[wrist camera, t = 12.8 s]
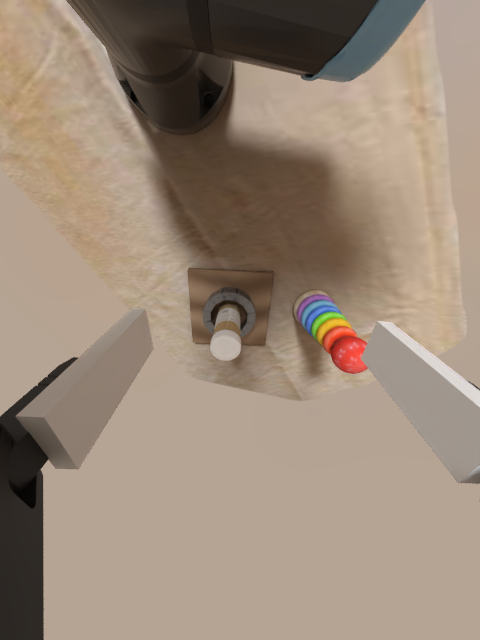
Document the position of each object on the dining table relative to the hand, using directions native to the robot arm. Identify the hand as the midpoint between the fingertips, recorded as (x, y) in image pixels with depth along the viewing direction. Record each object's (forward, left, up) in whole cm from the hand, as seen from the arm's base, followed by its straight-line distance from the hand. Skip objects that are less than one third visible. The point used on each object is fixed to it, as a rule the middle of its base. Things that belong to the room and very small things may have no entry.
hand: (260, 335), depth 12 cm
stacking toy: (+10, +14, -29) cm, 34 cm away
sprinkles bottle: (+11, -3, -27) cm, 30 cm away
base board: (+11, -3, -29) cm, 31 cm away
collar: (+11, -3, -27) cm, 30 cm away
